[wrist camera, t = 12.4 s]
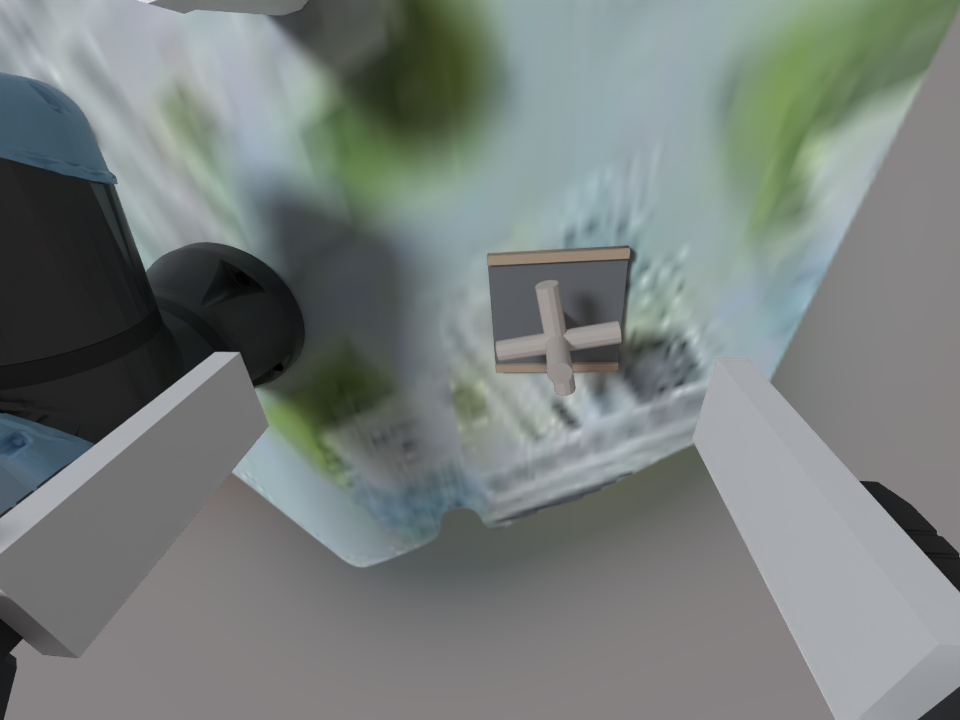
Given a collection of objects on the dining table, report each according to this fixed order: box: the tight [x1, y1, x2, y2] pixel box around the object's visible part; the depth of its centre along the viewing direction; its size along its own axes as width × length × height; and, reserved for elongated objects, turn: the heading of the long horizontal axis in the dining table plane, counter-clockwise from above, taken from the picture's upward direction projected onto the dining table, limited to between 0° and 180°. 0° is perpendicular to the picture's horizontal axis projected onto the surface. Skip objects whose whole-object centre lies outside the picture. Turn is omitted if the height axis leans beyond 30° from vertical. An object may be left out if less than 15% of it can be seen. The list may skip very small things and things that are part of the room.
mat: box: [487, 246, 630, 373], centre depth 38 cm, size 12×12×1 cm
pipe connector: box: [496, 280, 622, 396], centre depth 34 cm, size 10×10×10 cm
